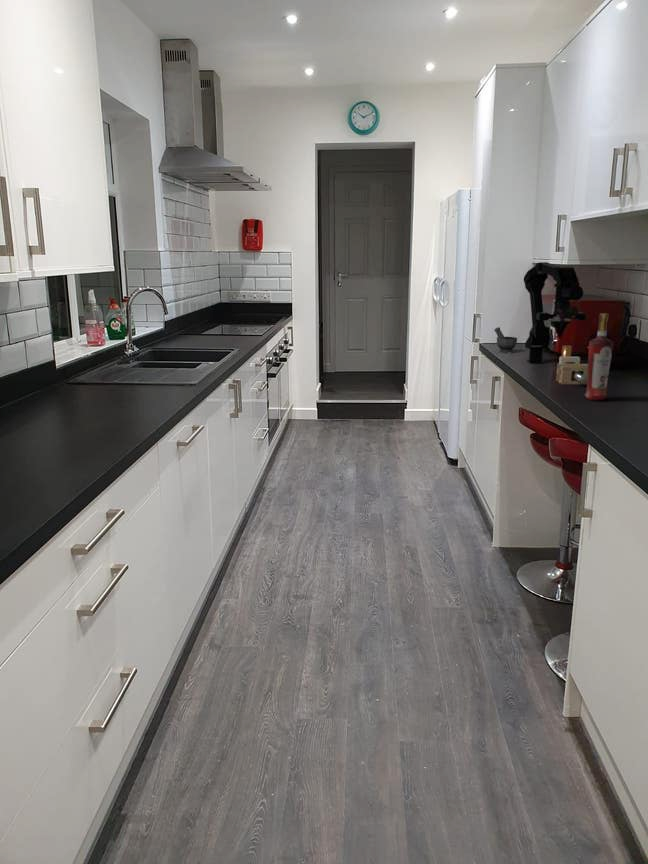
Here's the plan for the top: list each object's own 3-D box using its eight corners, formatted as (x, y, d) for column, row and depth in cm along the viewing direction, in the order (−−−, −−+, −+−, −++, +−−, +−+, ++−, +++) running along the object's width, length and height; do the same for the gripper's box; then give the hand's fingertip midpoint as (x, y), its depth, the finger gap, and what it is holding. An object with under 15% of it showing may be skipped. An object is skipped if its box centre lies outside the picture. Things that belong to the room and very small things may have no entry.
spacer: (557, 378, 257) (559, 356, 255) (575, 378, 257) (577, 356, 255) (560, 379, 254) (561, 357, 252) (578, 379, 254) (580, 357, 252)
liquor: (599, 396, 225) (608, 312, 217) (611, 401, 218) (621, 314, 210) (579, 397, 224) (587, 313, 216) (591, 402, 217) (599, 315, 209)
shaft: (555, 375, 262) (557, 345, 259) (570, 375, 261) (573, 345, 258) (573, 386, 240) (576, 354, 237) (590, 386, 240) (593, 354, 236)
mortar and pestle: (513, 350, 328) (515, 326, 325) (519, 353, 319) (520, 328, 316) (490, 350, 328) (492, 326, 325) (495, 353, 319) (497, 328, 316)
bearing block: (556, 380, 252) (557, 363, 251) (585, 380, 252) (587, 363, 250) (561, 384, 246) (563, 367, 244) (591, 384, 245) (593, 367, 244)
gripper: (544, 300, 262) (541, 340, 266) (592, 300, 261) (589, 340, 265) (537, 298, 272) (534, 336, 277) (583, 298, 272) (580, 336, 276)
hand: (559, 337), depth 273 cm, fingers closed
